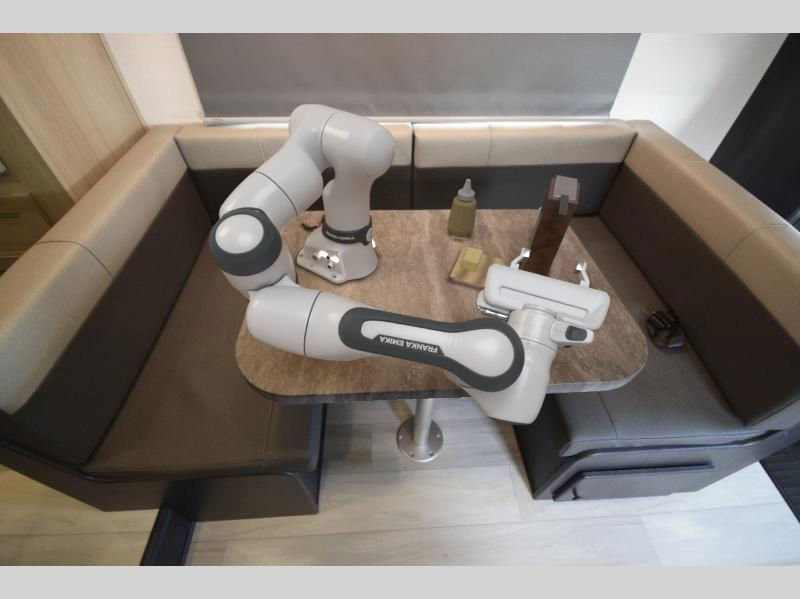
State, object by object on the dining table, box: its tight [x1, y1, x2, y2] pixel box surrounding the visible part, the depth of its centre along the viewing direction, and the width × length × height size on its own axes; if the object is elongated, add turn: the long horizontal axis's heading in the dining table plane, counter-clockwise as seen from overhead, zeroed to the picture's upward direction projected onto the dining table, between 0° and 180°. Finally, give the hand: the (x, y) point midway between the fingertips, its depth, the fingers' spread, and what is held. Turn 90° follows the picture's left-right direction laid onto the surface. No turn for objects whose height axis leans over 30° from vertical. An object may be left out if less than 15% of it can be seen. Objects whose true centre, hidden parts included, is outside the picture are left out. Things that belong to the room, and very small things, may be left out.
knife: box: [552, 174, 578, 222], centre depth 73 cm, size 4×18×2 cm, turn 158°
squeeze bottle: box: [447, 178, 477, 238], centre depth 102 cm, size 8×8×18 cm
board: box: [449, 248, 513, 287], centre depth 95 cm, size 16×13×2 cm
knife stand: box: [520, 177, 581, 277], centre depth 85 cm, size 8×12×26 cm, turn 158°
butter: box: [462, 246, 484, 272], centre depth 95 cm, size 4×6×3 cm, turn 158°
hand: (553, 256), depth 62 cm, fingers open, 8 cm apart
